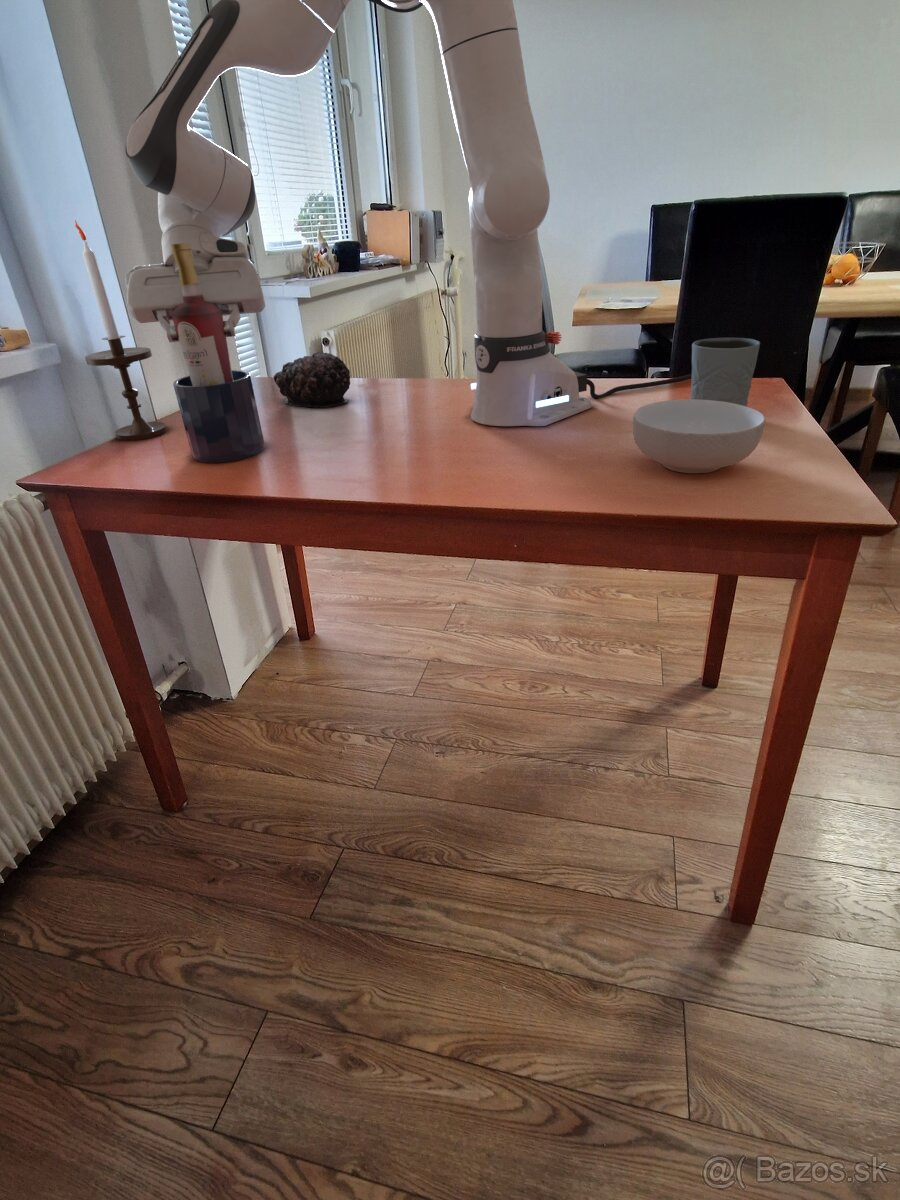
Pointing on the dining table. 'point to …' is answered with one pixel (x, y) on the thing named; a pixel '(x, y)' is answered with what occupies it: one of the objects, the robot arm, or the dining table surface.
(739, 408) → the cereal bowl
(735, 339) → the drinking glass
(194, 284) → the liquor
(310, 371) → the pine cone
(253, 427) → the dark blue plant pot
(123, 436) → the candlestick
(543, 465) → the dining table surface
